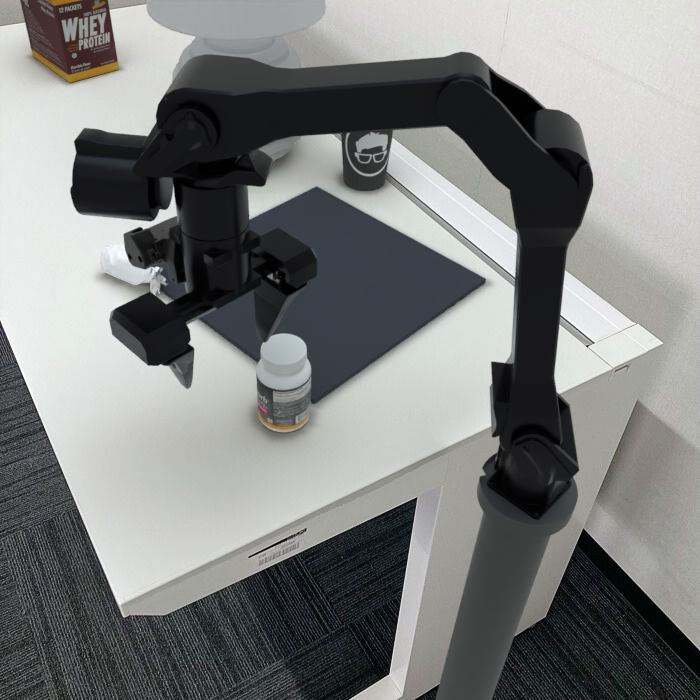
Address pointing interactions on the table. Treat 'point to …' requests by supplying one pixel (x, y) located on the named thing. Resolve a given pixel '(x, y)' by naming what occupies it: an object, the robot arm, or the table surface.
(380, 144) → the coffee cup
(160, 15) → the table lamp
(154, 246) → the robot arm
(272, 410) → the pill bottle
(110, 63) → the supplement box
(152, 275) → the white pouch
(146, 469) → the table surface
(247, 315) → the mat
